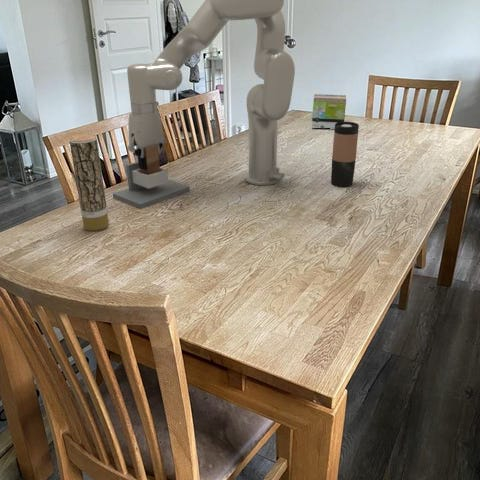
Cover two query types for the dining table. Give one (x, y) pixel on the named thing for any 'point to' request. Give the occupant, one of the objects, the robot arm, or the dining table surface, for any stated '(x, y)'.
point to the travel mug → (344, 153)
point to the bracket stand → (148, 187)
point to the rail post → (151, 160)
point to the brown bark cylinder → (89, 181)
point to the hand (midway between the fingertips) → (149, 166)
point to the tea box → (328, 110)
